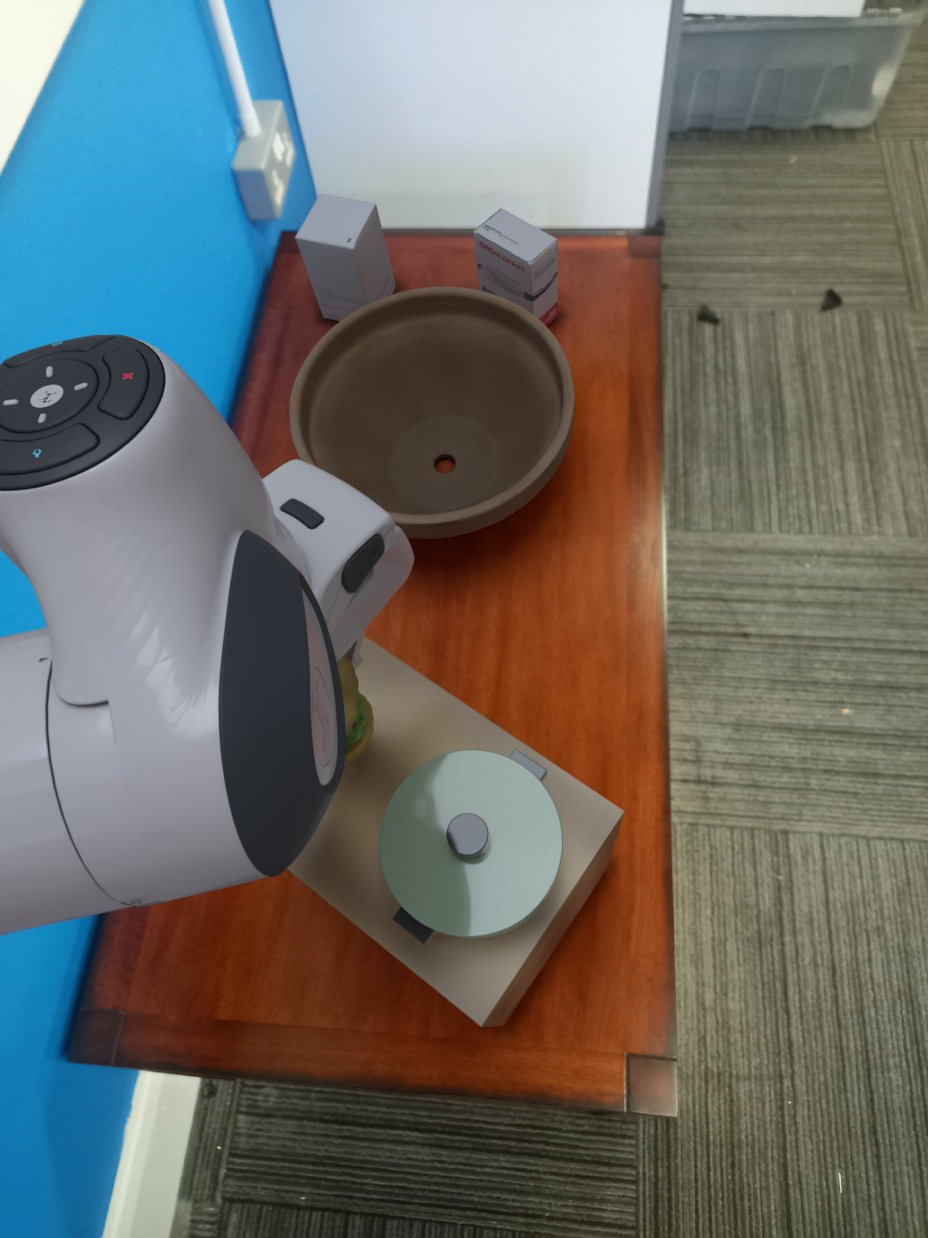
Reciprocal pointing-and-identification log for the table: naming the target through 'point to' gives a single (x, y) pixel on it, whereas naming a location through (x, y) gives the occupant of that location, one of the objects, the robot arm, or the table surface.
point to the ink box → (518, 264)
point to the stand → (349, 832)
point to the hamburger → (354, 712)
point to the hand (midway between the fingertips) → (305, 714)
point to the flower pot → (437, 407)
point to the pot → (470, 845)
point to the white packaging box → (345, 255)
